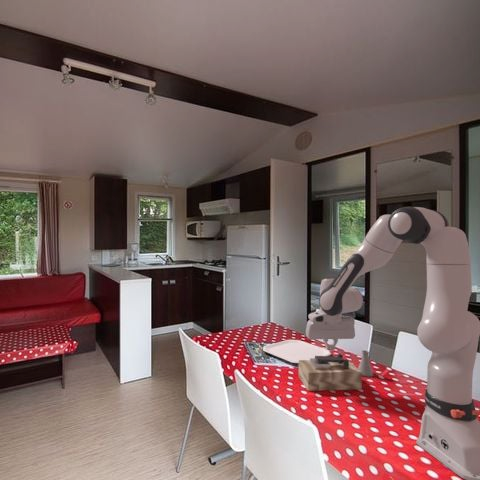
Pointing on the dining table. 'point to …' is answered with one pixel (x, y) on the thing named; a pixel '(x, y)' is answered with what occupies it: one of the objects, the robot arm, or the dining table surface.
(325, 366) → the steel pin
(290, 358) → the plate
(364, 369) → the flask
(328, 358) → the latch bar
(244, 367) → the dining table surface
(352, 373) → the socket block
